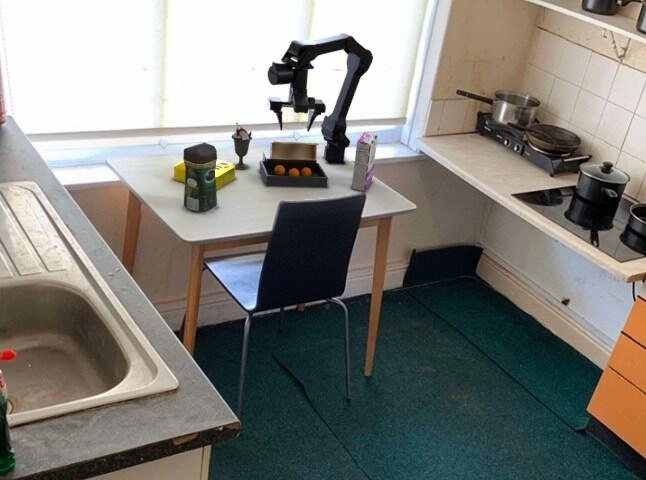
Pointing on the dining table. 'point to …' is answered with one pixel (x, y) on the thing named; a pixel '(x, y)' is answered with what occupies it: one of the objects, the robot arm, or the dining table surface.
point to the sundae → (241, 146)
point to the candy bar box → (364, 161)
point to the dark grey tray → (271, 179)
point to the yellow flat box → (223, 172)
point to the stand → (267, 158)
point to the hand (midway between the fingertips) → (294, 130)
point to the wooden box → (293, 150)
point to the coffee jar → (200, 177)
